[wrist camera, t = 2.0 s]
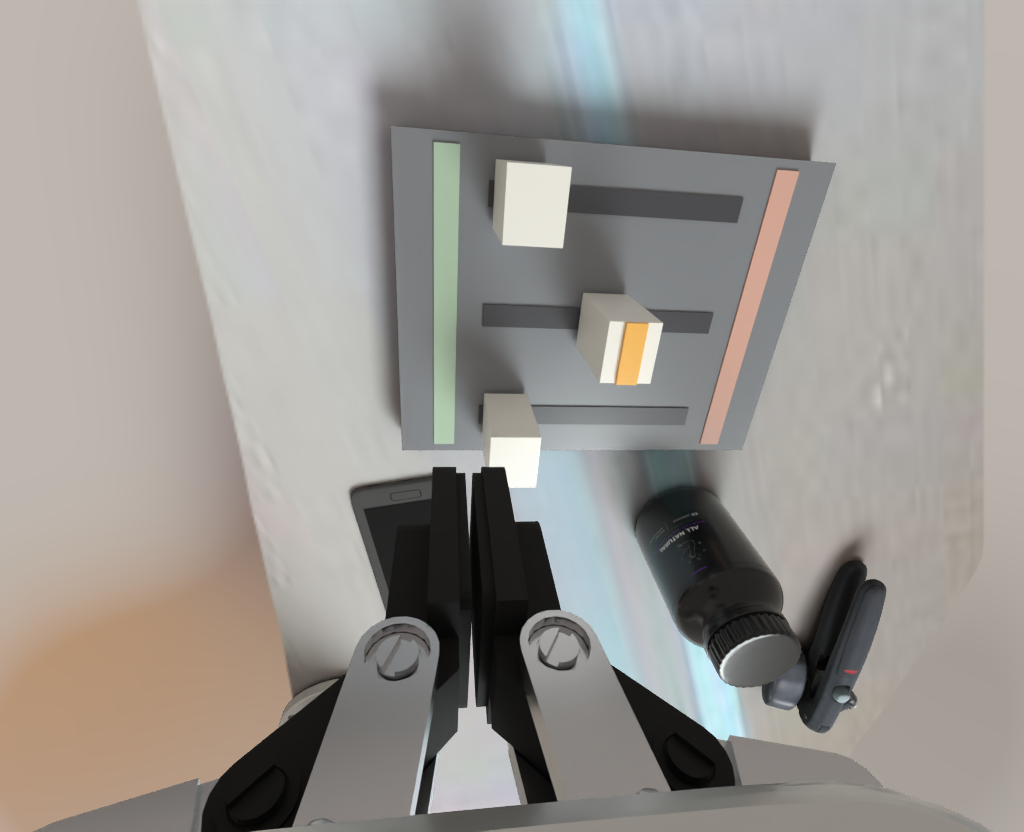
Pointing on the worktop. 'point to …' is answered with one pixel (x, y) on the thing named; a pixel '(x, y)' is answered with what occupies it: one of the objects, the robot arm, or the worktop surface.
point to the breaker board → (594, 288)
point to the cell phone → (389, 520)
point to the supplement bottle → (717, 586)
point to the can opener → (833, 652)
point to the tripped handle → (618, 338)
